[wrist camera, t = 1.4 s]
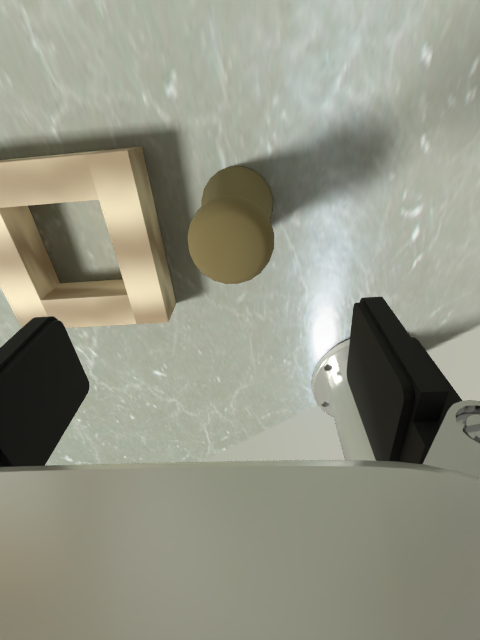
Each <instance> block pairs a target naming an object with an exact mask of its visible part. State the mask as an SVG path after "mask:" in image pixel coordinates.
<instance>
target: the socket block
mask: <svg viewBox="0 0 480 640" xmlns="http://www.w3.org/2000/svg"><path fill="white" fill-rule="evenodd" d="M87 200H99V201H100V205H101V208H102V211H103V215H104V218H105V221H106V225H107V228H108V231H109V235H110V238H111V241H112V245H113V248H114V251H115V254H116V258H117V261H118V264H119V268H120V271H121V274H122V278H123V279H117V280H102V281H87V282H72V283H60V282H59V279H58V277H57V275H56V272H55V270H54V267H53V265H52V262H51V260H50V258H49V255H48V253H47V250H46V248H45V246H44V243H43V241H42V238H41V236H40V234H39V231H38V229H37V226H36V224H35V222H34V219H33V217H32V214H31V212H30V209H29V207H28V205H40V204H52V203H64V202H75V201H87ZM0 287H1V289H2V291H3V293H4V295H5V296H6V298H7V300H8V302H9V304H10V306H11V308H12V310H13V312H14V314H15V316H16V317H17V319H18V321H19V323H20V325H21V327H22V328H23V327H24V326H25V325H26V324H27V323H28V322H29V321H30V320H31V319H33V318H34V317H48V316H53V317H55V318H57V319H58V320H59V321H61V322H62V323H63V325H64V327H65V328H71V327H89V326H108V325H126V324H144V323H162V322H169V319H170V317H171V314H172V312H173V310H174V307H175V305H176V301H175V296H174V292H173V287H172V283H171V278H170V273H169V269H168V264H167V259H166V255H165V250H164V246H163V241H162V236H161V232H160V227H159V222H158V218H157V213H156V209H155V204H154V199H153V195H152V190H151V185H150V181H149V176H148V172H147V167H146V162H145V158H144V153H143V149H142V146H141V147H130V148H120V149H110V150H99V151H89V152H79V153H68V154H58V155H48V156H37V157H27V158H17V159H7V160H0Z"/></svg>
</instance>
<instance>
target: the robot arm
mask: <svg viewBox="0 0 480 640" xmlns="http://www.w3.org/2000/svg"><path fill="white" fill-rule="evenodd" d="M88 391H89V381H88V379H87V376H86V374H85V372H84V370H83V367H82V365H81V363H80V361H79V358H78V356H77V354H76V352H75V349H74V347H73V345H72V343H71V340H70V338H69V336H68V333H67V331H66V329H65V327H64V325H63V323H62V322H61V321H59V320H58V319H57V318H55V317H53V316H48V317H34V318H33V319H31V320H30V321H29V322H28V323H27V324H26V325H25V326H24V327H23V328H21V329H20V330H19V331H18V332H17V333H16V334H15V335H14V336H13V337H12V338H11V339H9V340H8V341H7V342H6V343H5V344H4V345H3V346H2V347H1V348H0V640H480V401H473V400H467V401H462V400H461V398H460V397H459V396H458V394H457V393H456V391H455V390H454V389H453V387H452V386H451V385H450V383H449V382H448V380H447V379H446V378H445V376H444V375H443V374H442V372H441V371H440V369H439V368H438V367H437V365H436V364H435V363H434V361H433V360H432V359H431V357H430V356H429V355H428V353H427V352H426V350H425V349H424V348H423V346H422V345H421V344H420V342H419V341H418V340H417V339H416V338H413V337H412V338H411V337H410V335H409V334H408V333H407V331H406V330H405V328H404V327H403V325H402V324H401V323H400V321H399V320H398V318H397V317H396V316H395V314H394V313H393V311H392V310H391V309H390V307H389V306H388V304H387V303H386V301H385V300H384V299H383V298H382V297H369V298H362V299H361V300H360V303H355V304H354V308H353V317H352V326H351V335H350V339H348V340H346V341H344V342H342V343H340V344H338V345H337V346H335V347H334V348H332V349H331V350H330V351H328V352H327V353H326V354H325V355H324V356H323V357H322V358H321V360H320V361H319V363H318V364H317V365H316V368H315V370H314V372H313V376H312V391H313V395H314V398H315V400H316V402H317V404H318V406H319V407H320V408H321V409H322V410H323V411H324V412H326V413H327V414H328V415H330V416H332V417H334V421H335V424H336V428H337V432H338V435H339V439H340V443H341V447H342V450H343V454H344V458H345V460H285V461H284V460H283V461H231V462H230V461H228V462H176V463H132V464H91V465H54V466H45V464H46V462H47V461H48V459H49V457H50V455H51V454H52V452H53V450H54V449H55V447H56V445H57V444H58V442H59V440H60V439H61V437H62V435H63V434H64V432H65V430H66V429H67V427H68V425H69V424H70V422H71V420H72V418H73V417H74V415H75V413H76V412H77V410H78V408H79V407H80V405H81V403H82V402H83V400H84V398H85V397H86V395H87V393H88Z"/></svg>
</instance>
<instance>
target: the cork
mask: <svg viewBox="0 0 480 640" xmlns="http://www.w3.org/2000/svg"><path fill="white" fill-rule="evenodd" d="M272 211H273V197H272V193H271V190H270V187H269V185H268V184H267V182H266V181H265V179H264V178H263V177H262V176H261V175H259V174H258V173H257V172H255V171H254V170H252V169H249V168H246V167H243V166H235V167H228V168H225V169H223V170H220V171H219V172H217V173H216V174H215V175H214V176H213V177H212V178H210V180H209V182H208V183H207V185H206V187H205V188H204V192H203V197H202V207H201V208H200V209H199V210H198V211H197V213H196V214H195V216H194V218H193V219H192V221H191V223H190V226H189V231H188V236H187V238H188V247H189V253H190V255H191V257H192V259H193V262H194V264H195V265H196V266H197V267H198V269H199V270H200V271H201V272H202V273H203V274H204V275H206V276H208V277H209V278H211V279H212V280H214V281H218V282H221V283H225V284H239V283H242V282H245V281H248V280H251V279H252V278H254V277H255V276H257V275H258V274H260V273H261V271H262V270H263V269H264V268H265V266H266V265H267V264H268V262H269V261H270V258H271V255H272V252H273V250H274V232H273V229H272V225H271V222H270V217H271V214H272Z"/></svg>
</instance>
